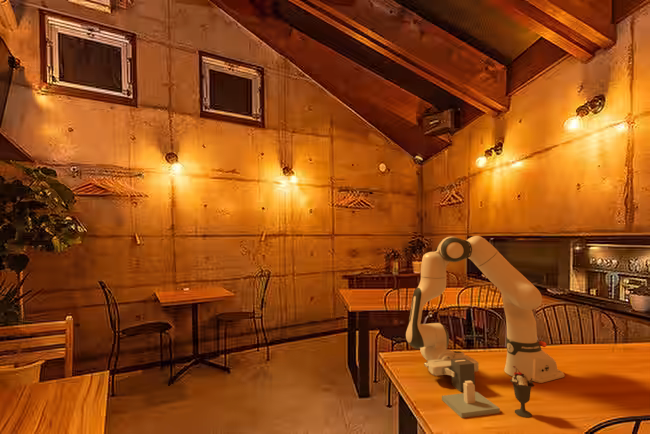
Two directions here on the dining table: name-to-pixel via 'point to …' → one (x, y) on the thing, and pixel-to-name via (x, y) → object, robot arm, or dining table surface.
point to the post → (470, 402)
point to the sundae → (522, 392)
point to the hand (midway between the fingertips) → (464, 373)
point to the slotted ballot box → (462, 372)
